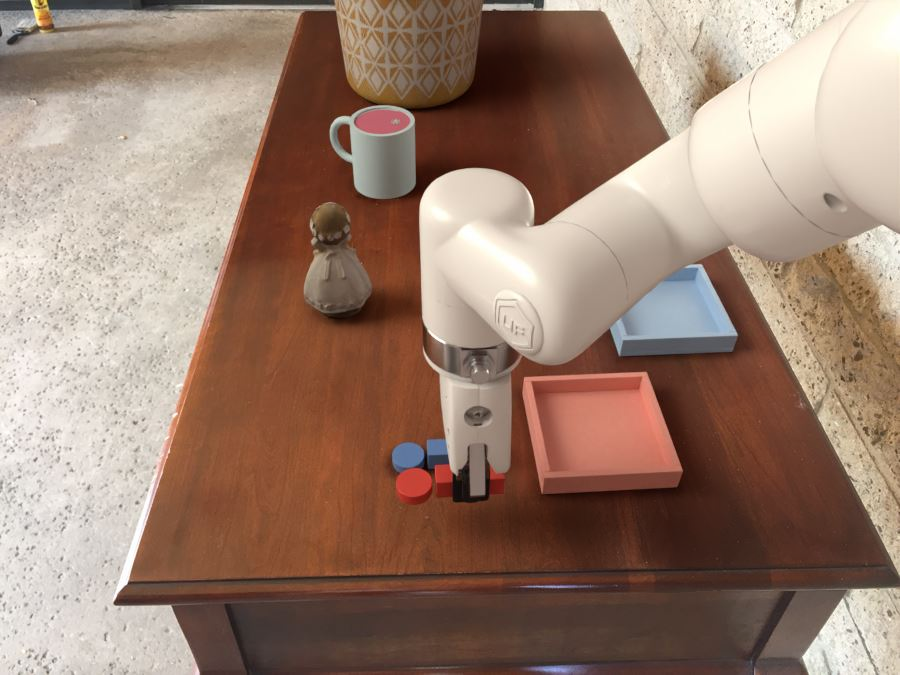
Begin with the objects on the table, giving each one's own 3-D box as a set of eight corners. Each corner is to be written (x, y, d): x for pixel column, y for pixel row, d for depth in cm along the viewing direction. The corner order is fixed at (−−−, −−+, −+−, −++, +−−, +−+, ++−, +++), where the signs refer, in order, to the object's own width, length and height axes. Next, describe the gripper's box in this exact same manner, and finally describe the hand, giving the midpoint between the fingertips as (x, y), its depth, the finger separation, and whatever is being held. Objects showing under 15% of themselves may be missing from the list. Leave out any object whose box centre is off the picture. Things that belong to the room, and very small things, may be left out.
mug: (426, 175, 118) (426, 114, 111) (396, 205, 112) (393, 142, 105) (350, 153, 122) (345, 93, 116) (316, 181, 116) (309, 119, 109)
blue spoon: (488, 471, 77) (489, 457, 76) (392, 475, 76) (391, 461, 75) (485, 446, 79) (486, 432, 78) (392, 450, 79) (391, 436, 77)
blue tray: (732, 351, 90) (738, 335, 89) (619, 356, 89) (622, 339, 88) (697, 280, 100) (701, 263, 98) (594, 283, 99) (597, 267, 98)
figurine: (365, 286, 98) (357, 182, 88) (377, 320, 93) (371, 215, 83) (301, 297, 96) (286, 193, 86) (311, 333, 92) (296, 227, 81)
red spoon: (504, 499, 69) (505, 484, 67) (397, 506, 68) (395, 490, 67) (500, 470, 71) (501, 455, 70) (396, 477, 71) (395, 461, 69)
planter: (322, 111, 132) (309, -23, 118) (355, 50, 151) (347, -73, 137) (474, 123, 130) (480, -13, 116) (488, 59, 149) (495, -64, 134)
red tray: (677, 487, 76) (683, 471, 74) (541, 494, 75) (544, 478, 73) (642, 388, 86) (646, 371, 84) (522, 393, 85) (524, 376, 83)
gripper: (540, 409, 52) (523, 562, 64) (509, 266, 64) (499, 418, 76) (428, 415, 51) (432, 568, 64) (417, 270, 63) (422, 422, 75)
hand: (469, 485), depth 70 cm, fingers closed on red spoon, 2 cm apart
